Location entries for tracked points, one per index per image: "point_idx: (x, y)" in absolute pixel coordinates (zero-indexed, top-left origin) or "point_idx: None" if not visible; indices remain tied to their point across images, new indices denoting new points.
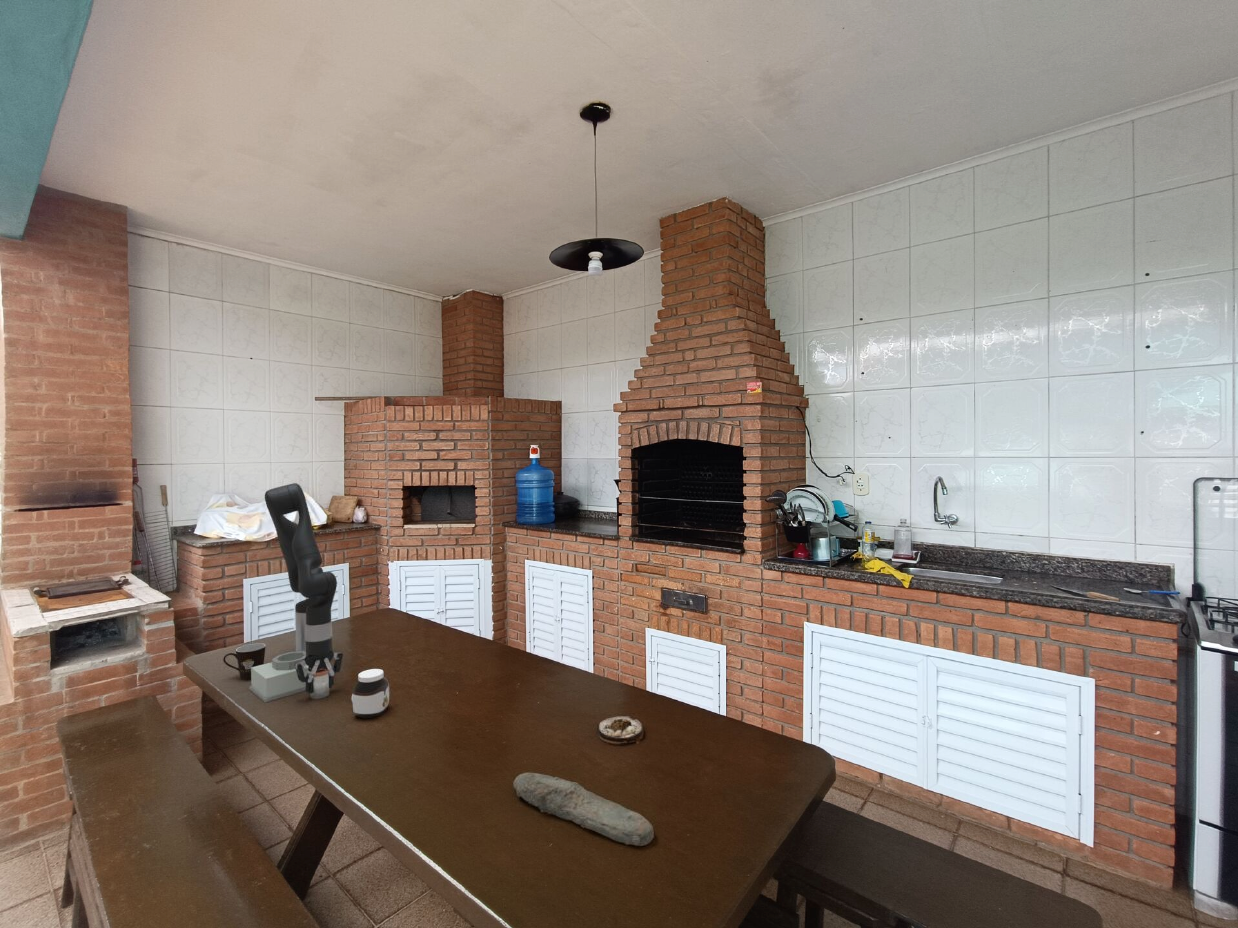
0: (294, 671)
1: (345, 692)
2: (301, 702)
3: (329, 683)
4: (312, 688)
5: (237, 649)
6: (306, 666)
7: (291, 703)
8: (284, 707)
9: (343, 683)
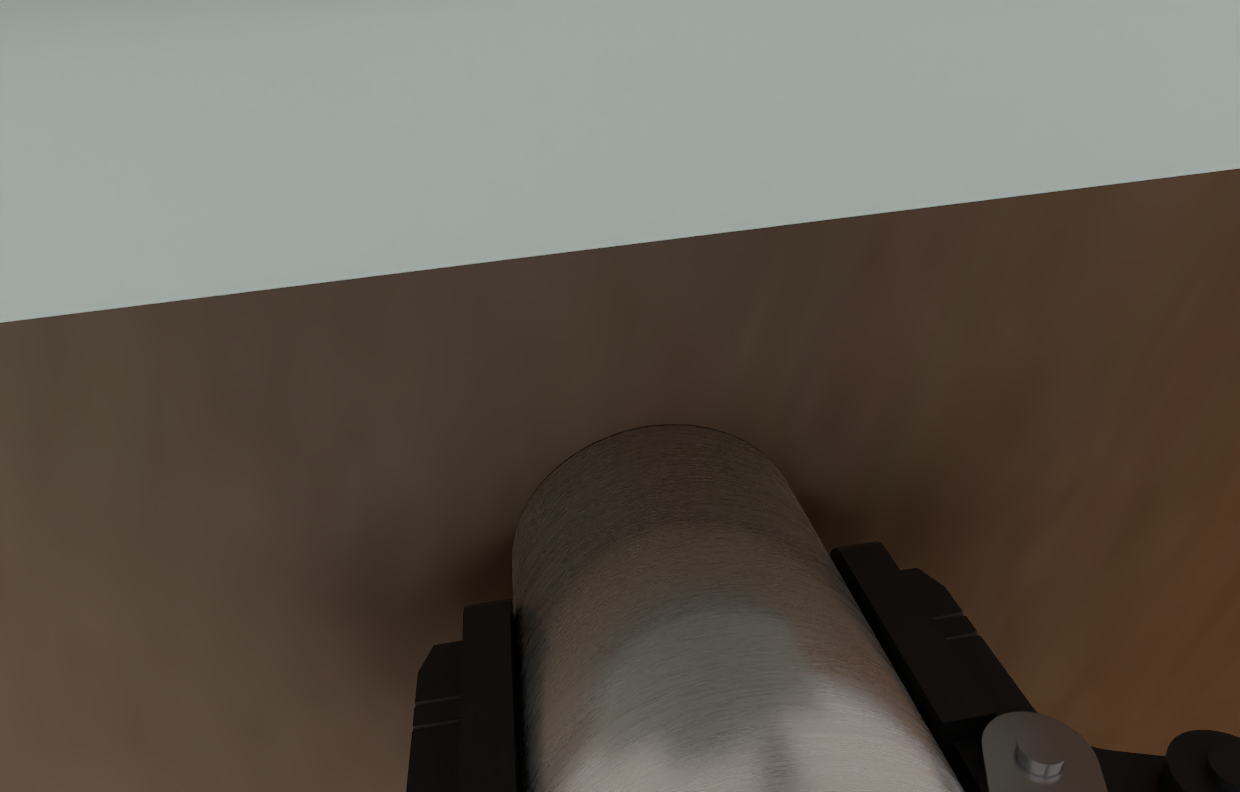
0: (11, 317)
1: None
2: (342, 651)
3: None
4: None
5: None
6: (691, 21)
7: (183, 604)
8: (67, 686)
9: (1159, 298)
